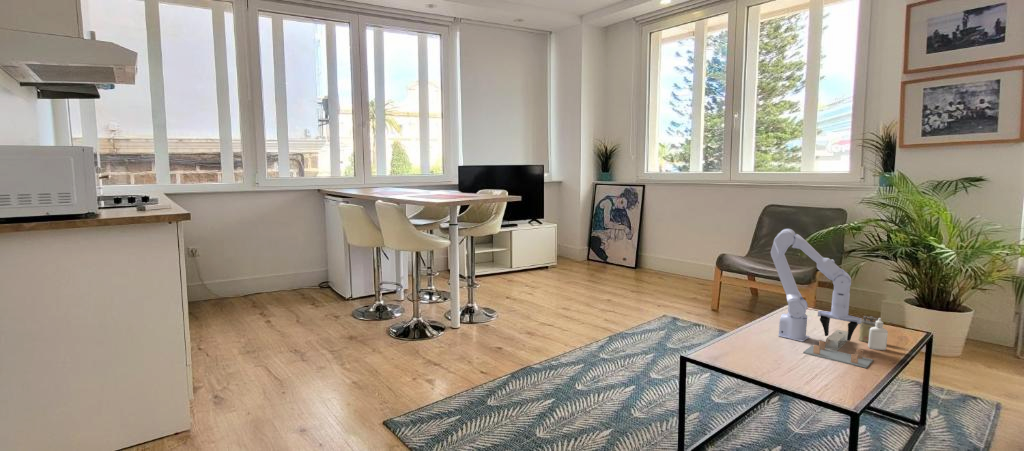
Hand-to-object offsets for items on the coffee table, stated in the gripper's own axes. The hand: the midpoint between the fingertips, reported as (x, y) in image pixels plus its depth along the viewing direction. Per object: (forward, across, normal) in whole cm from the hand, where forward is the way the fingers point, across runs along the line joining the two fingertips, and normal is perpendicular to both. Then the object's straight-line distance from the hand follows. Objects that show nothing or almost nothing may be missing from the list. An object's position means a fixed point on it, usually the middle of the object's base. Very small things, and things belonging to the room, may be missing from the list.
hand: (837, 337), depth 207 cm
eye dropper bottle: (+3, +12, +6) cm, 14 cm away
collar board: (+3, +4, -15) cm, 16 cm away
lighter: (+3, +8, +13) cm, 16 cm away
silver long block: (+3, 0, 0) cm, 3 cm away
